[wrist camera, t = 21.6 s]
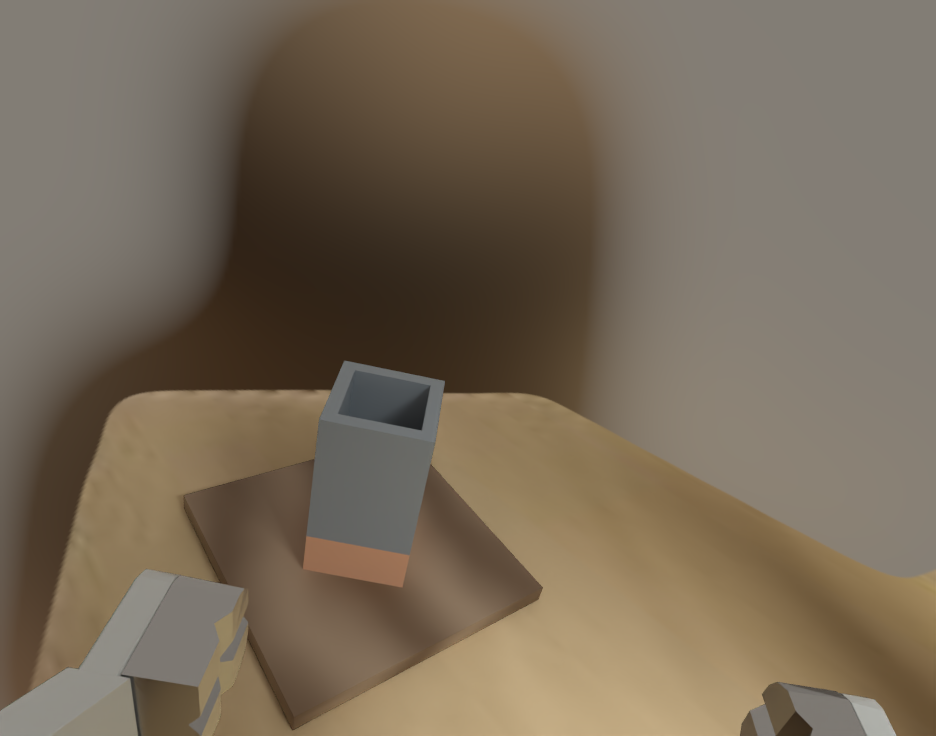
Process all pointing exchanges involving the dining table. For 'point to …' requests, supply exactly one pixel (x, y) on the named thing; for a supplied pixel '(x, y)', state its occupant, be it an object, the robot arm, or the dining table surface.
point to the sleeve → (371, 472)
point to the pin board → (351, 588)
